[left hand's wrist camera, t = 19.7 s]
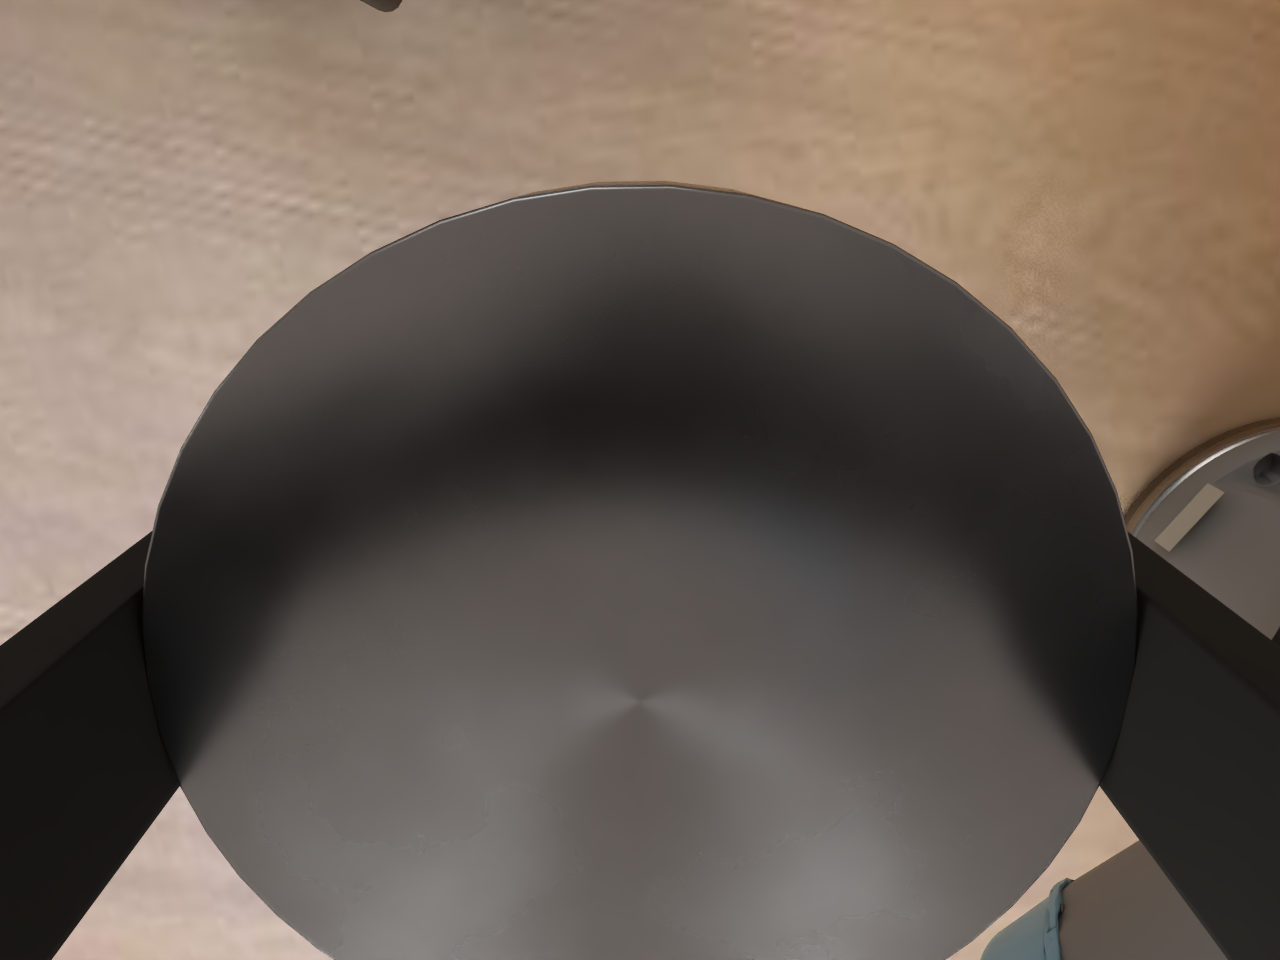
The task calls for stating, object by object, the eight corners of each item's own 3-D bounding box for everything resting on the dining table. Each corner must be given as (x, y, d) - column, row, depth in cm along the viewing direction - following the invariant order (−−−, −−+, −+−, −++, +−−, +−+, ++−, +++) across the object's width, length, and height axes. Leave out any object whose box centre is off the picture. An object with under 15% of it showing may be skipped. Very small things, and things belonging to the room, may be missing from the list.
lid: (1168, 774, 13) (1248, 869, 11) (490, 1033, 15) (470, 1149, 13) (874, -17, 9) (928, -59, 8) (30, 450, 11) (-82, 504, 9)
